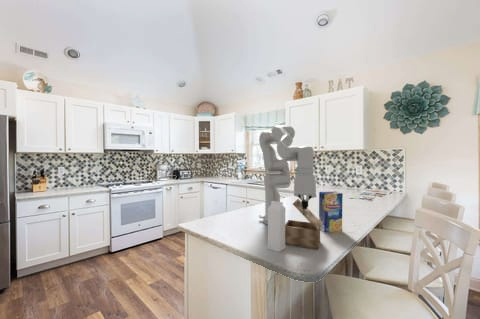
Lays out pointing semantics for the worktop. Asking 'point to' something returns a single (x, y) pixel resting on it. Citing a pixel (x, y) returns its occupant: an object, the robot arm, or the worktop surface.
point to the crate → (302, 235)
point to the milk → (276, 226)
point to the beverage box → (330, 211)
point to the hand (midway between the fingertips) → (304, 208)
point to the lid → (307, 214)
